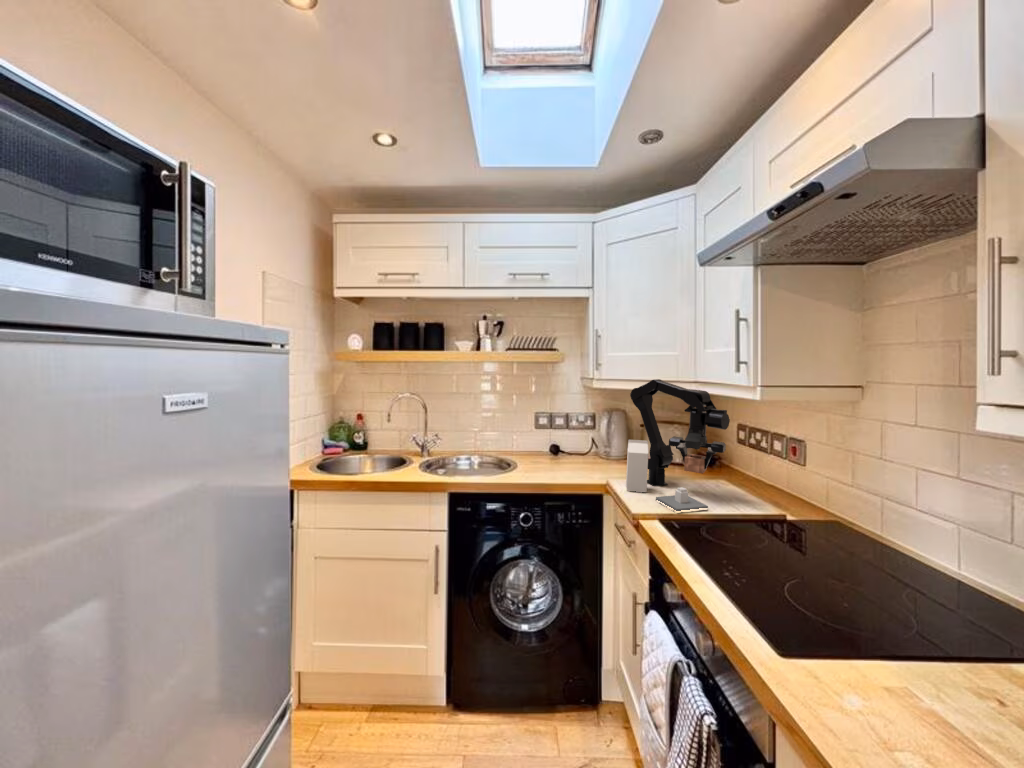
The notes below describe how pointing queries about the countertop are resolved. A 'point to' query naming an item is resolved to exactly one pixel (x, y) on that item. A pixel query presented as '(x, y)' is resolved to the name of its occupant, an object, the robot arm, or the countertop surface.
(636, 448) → the milk carton
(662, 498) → the key base
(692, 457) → the collar
